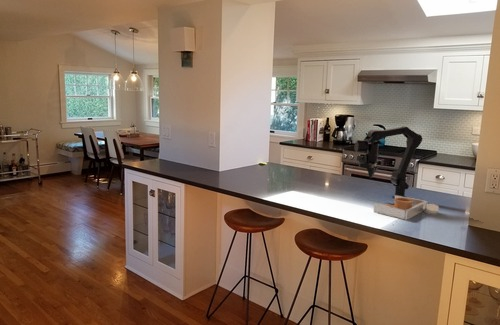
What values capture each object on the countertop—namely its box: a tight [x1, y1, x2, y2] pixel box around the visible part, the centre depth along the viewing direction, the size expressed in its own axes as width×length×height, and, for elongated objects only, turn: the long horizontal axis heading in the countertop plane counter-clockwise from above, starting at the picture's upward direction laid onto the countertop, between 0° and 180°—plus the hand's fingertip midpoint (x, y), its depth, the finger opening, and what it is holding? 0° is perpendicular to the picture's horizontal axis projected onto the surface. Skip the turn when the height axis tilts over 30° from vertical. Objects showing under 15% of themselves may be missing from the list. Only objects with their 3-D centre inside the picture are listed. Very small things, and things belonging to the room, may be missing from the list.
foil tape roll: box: [423, 203, 439, 215], centre depth 197 cm, size 6×6×4 cm
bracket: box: [380, 198, 412, 210], centre depth 197 cm, size 18×8×7 cm, turn 83°
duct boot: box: [373, 194, 428, 221], centre depth 199 cm, size 26×17×4 cm, turn 136°
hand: (370, 178), depth 221 cm, fingers closed
